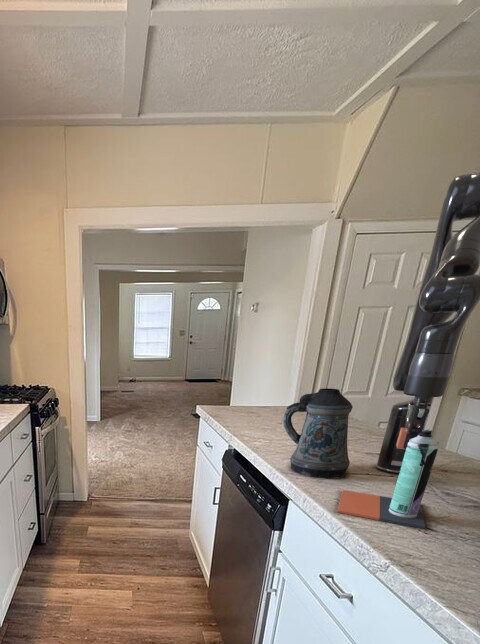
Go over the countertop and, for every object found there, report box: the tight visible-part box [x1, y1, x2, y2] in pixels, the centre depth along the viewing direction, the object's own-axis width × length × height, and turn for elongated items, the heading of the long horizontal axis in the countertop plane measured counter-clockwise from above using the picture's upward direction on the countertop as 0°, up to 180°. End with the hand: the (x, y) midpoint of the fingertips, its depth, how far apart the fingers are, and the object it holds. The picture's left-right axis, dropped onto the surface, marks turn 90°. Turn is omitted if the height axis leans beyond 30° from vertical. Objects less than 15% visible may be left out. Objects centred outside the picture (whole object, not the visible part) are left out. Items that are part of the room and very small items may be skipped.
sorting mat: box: [337, 489, 426, 530], centre depth 99 cm, size 16×17×1 cm
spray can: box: [389, 429, 440, 518], centre depth 92 cm, size 6×6×20 cm
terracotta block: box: [396, 428, 423, 449], centre depth 97 cm, size 4×4×4 cm
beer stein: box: [282, 387, 354, 479], centre depth 122 cm, size 16×19×25 cm
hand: (407, 446), depth 98 cm, fingers closed on terracotta block, 4 cm apart
